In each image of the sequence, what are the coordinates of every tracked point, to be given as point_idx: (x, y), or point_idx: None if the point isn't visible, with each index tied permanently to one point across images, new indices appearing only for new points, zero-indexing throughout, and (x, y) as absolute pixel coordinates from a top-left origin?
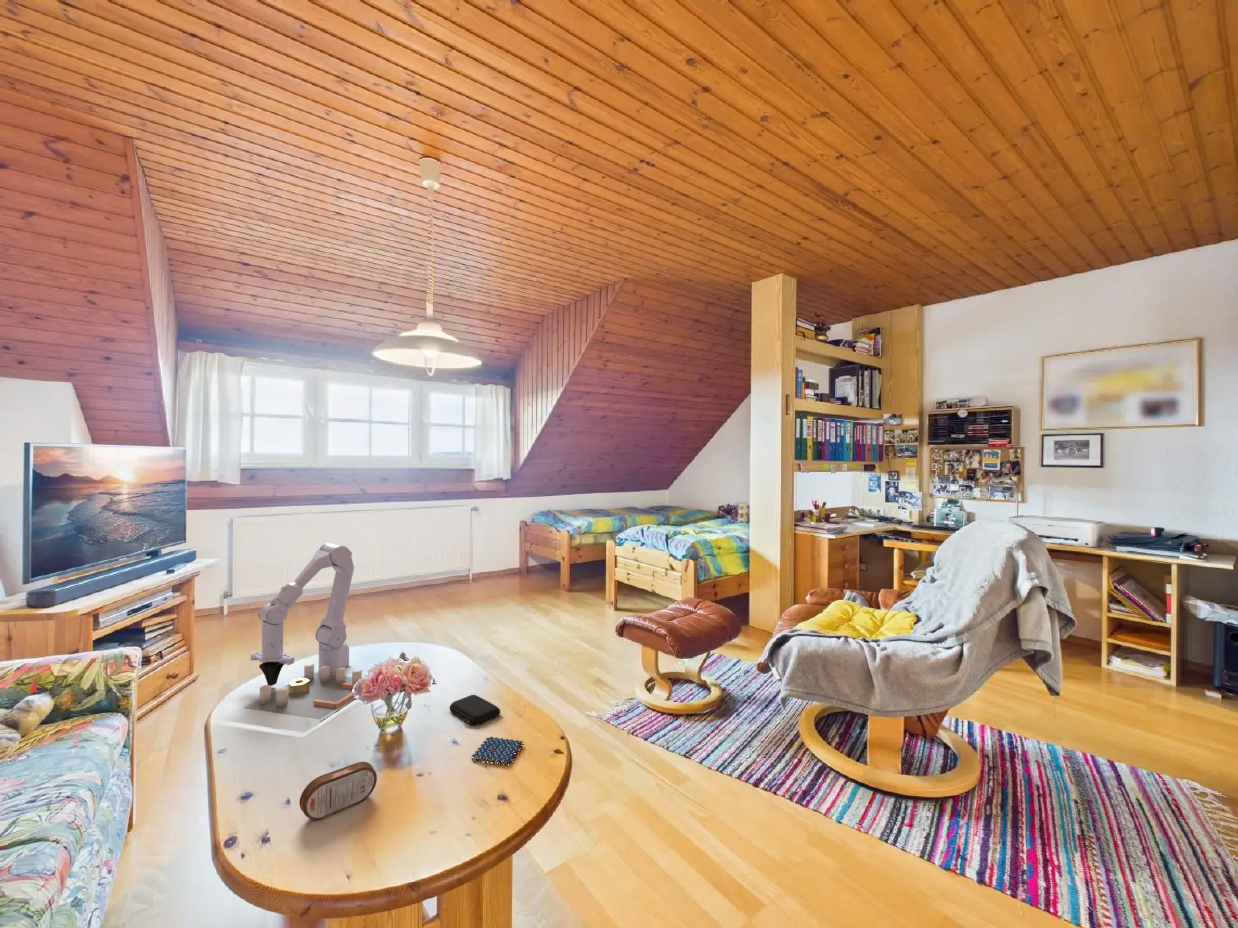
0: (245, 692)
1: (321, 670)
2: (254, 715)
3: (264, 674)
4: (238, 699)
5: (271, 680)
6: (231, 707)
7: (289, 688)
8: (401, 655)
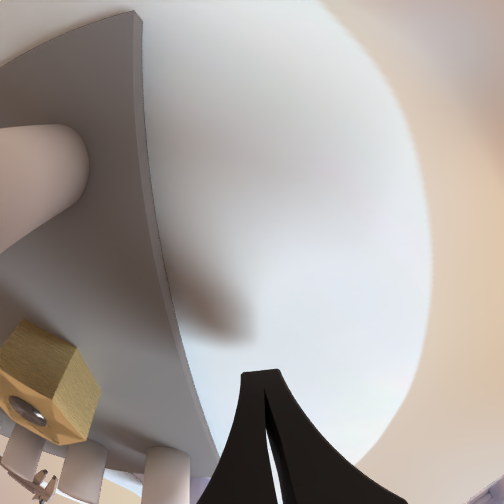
0: (409, 271)
1: (69, 482)
2: (24, 39)
3: (323, 444)
4: (380, 167)
5: (236, 411)
6: (308, 34)
7: (48, 361)
8: (40, 498)
